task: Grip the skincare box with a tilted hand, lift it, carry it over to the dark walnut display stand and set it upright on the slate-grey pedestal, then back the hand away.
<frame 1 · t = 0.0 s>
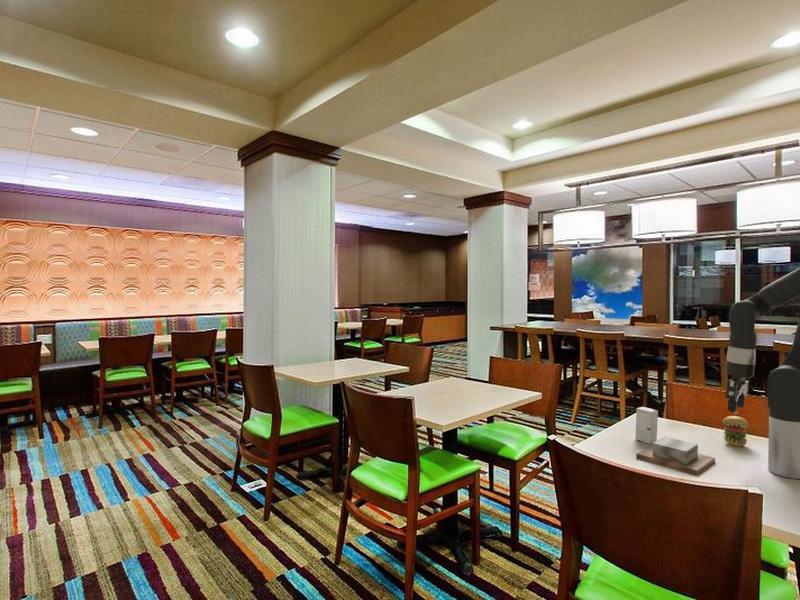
hand: (735, 409, 146), 17 cm above the table, tool pointing down, fingers open, 8 cm apart
skincare box: (646, 441, 166), on the table
hamburger: (735, 444, 162), on the table
display stand: (675, 460, 148), on the table
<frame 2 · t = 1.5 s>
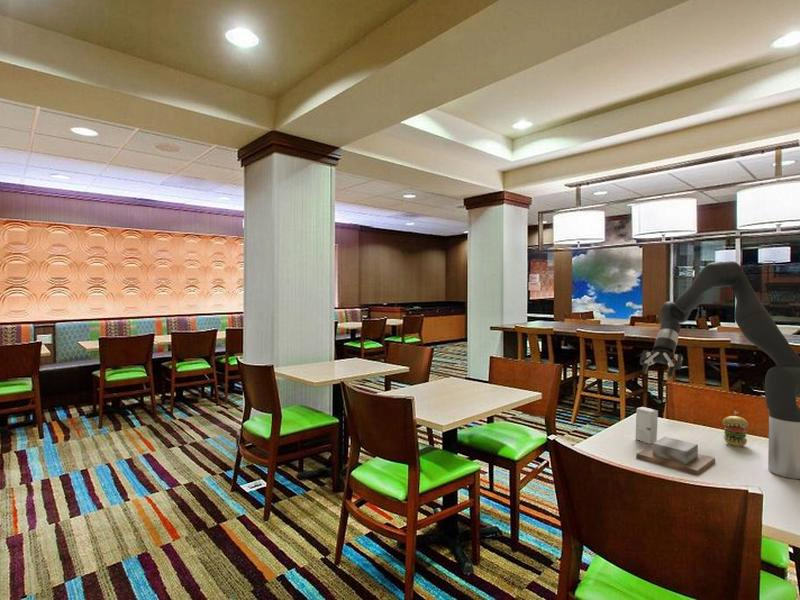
hand: (656, 374, 173), 23 cm above the table, tool tilted 45°, fingers open, 8 cm apart
nothing on the table moved.
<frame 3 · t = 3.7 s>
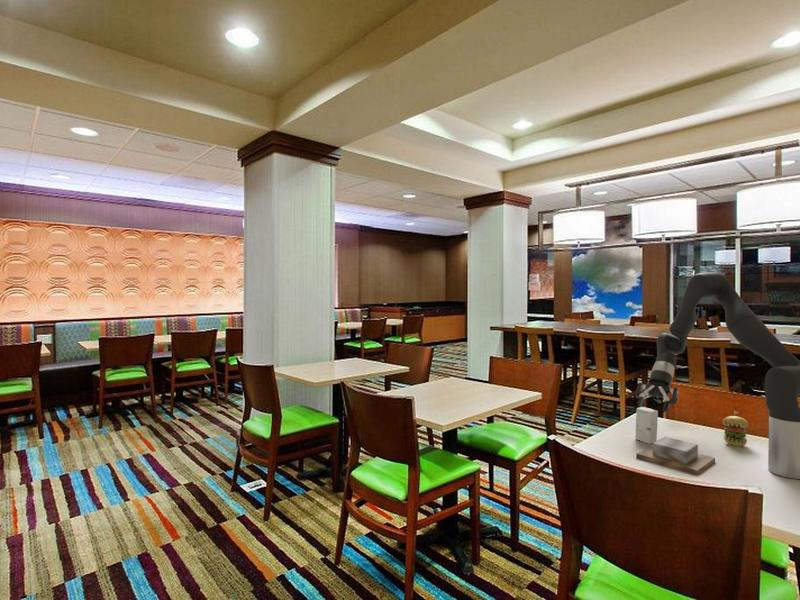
hand: (651, 408, 170), 11 cm above the table, tool tilted 45°, fingers open, 8 cm apart
nothing on the table moved.
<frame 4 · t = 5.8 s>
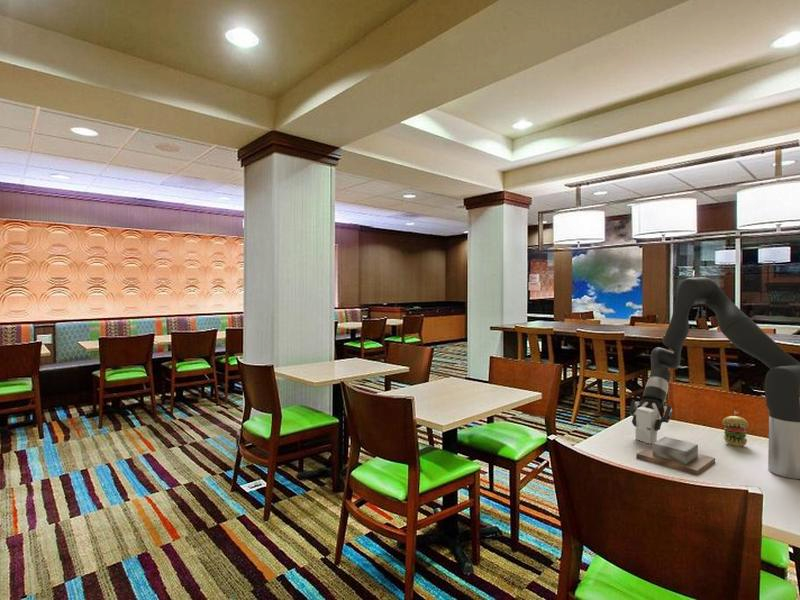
hand: (645, 427, 165), 5 cm above the table, tool tilted 45°, fingers closed on skincare box, 6 cm apart
skincare box: (646, 441, 166), on the table, touching gripper
everything else where it was.
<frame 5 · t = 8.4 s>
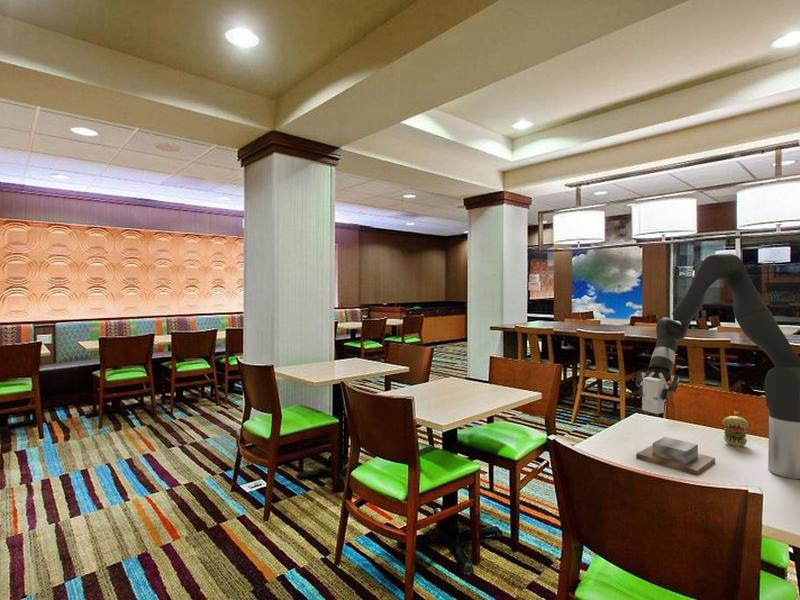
hand: (652, 397, 160), 18 cm above the table, tool tilted 45°, fingers closed on skincare box, 6 cm apart
skincare box: (653, 412, 162), point 12 cm above the table, touching gripper
everything else where it was.
when the fingers open (12 cm above the table, at t = 11.2 s): skincare box drops 1 cm, resting on display stand.
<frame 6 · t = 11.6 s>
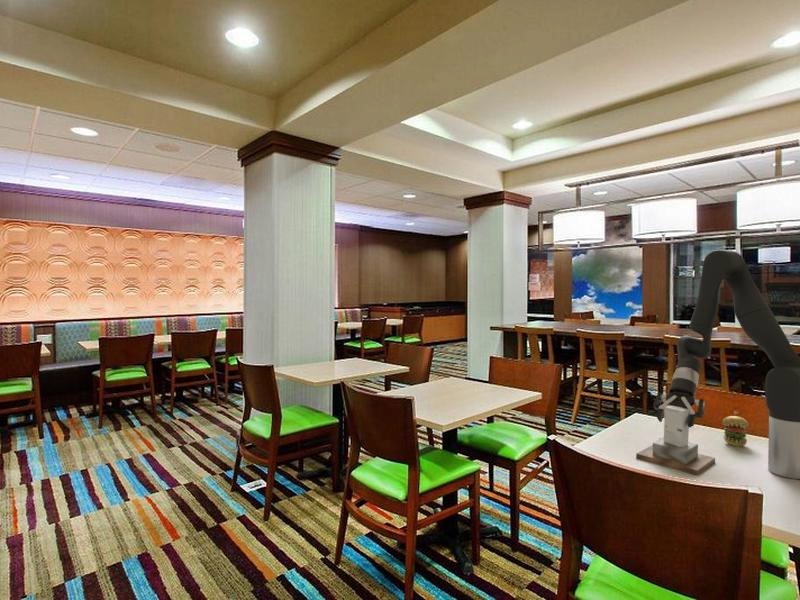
hand: (674, 423, 146), 13 cm above the table, tool tilted 45°, fingers open, 8 cm apart
skincare box: (676, 444, 147), point 5 cm above the table, touching display stand
everything else where it was.
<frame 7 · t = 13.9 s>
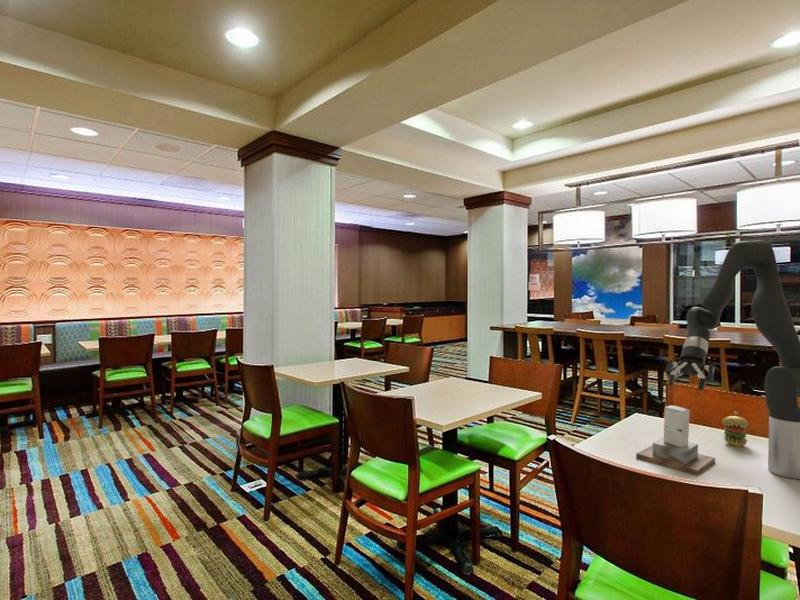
hand: (685, 387, 155), 23 cm above the table, tool tilted 45°, fingers open, 8 cm apart
nothing on the table moved.
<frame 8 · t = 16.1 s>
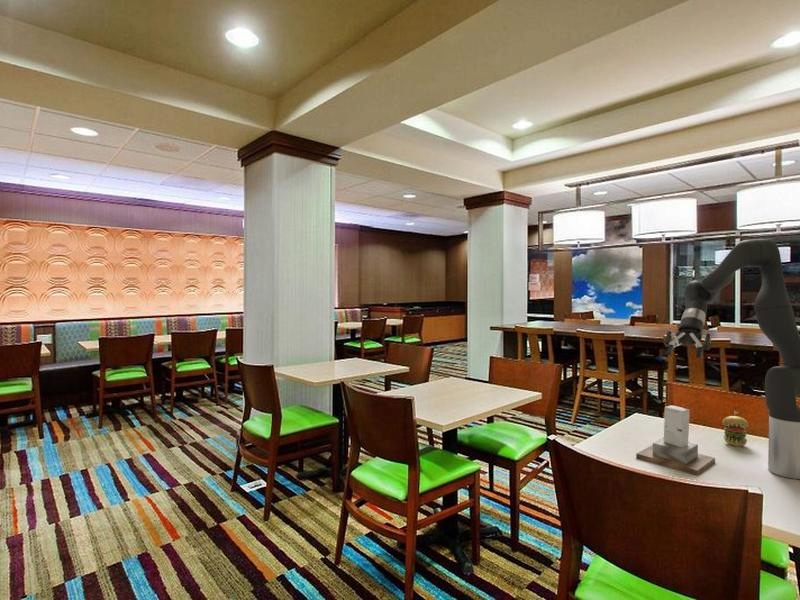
hand: (683, 356, 161), 33 cm above the table, tool tilted 45°, fingers open, 8 cm apart
nothing on the table moved.
at the end: skincare box inside the target area on the display stand (0.4 cm from its centre), point 5.3 cm above the display stand's base; skincare box tilted 0°; the gripper is holding nothing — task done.
